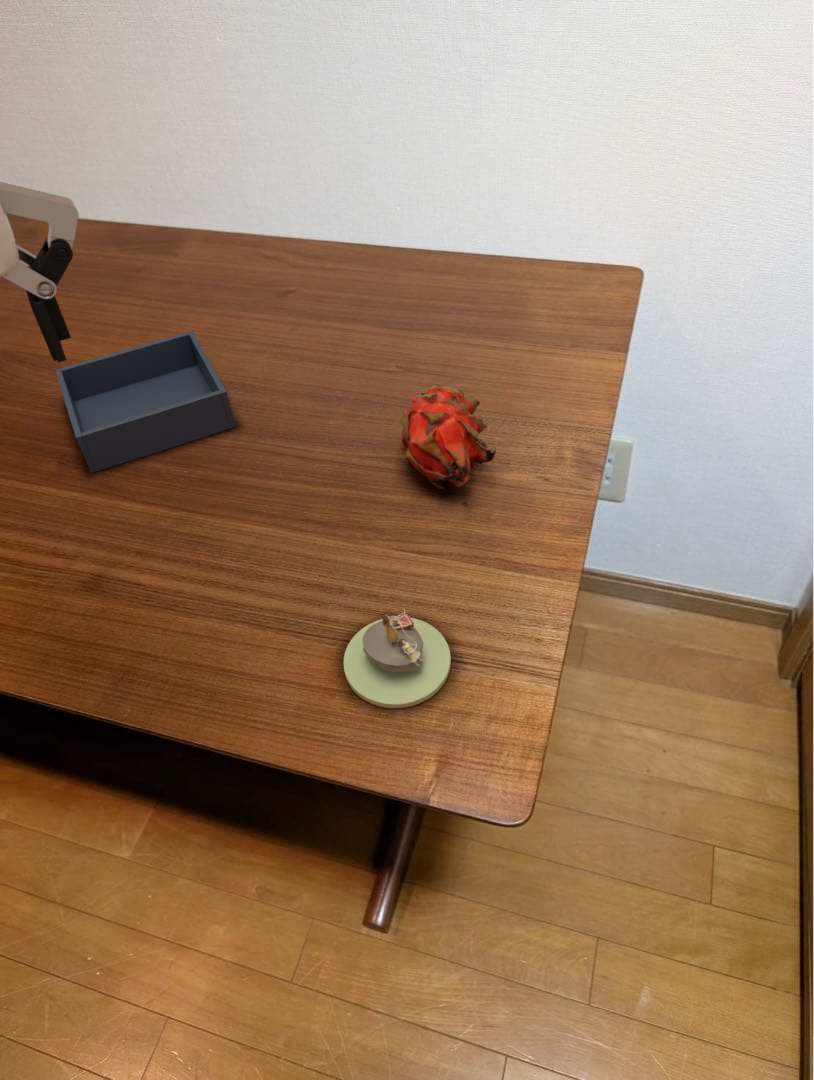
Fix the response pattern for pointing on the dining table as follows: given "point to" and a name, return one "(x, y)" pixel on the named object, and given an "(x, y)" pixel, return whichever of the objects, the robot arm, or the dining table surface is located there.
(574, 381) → the dining table surface
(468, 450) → the dragon fruit
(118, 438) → the basket
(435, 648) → the mat
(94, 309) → the dining table surface
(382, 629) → the figurine
